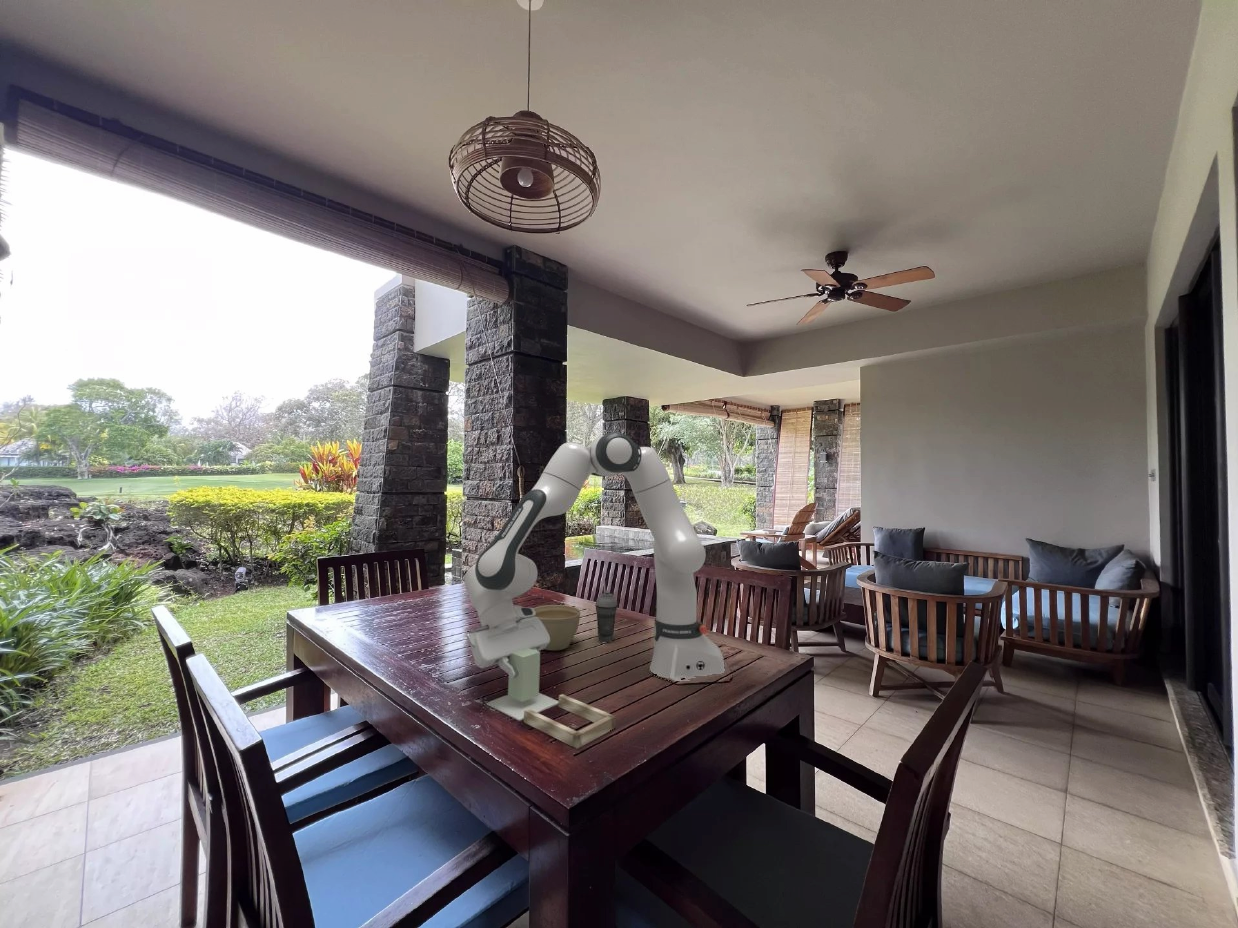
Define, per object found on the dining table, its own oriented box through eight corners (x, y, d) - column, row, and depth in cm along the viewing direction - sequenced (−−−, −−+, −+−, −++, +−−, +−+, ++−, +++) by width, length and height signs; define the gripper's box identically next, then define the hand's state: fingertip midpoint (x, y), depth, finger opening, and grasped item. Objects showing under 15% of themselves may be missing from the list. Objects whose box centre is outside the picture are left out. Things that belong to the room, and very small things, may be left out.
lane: (523, 721, 110) (524, 710, 110) (562, 704, 119) (562, 694, 119) (577, 748, 100) (577, 735, 100) (615, 727, 108) (615, 716, 108)
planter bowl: (518, 644, 161) (519, 609, 161) (560, 635, 172) (560, 602, 172) (547, 658, 149) (548, 621, 149) (590, 647, 160) (591, 612, 160)
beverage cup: (608, 646, 161) (610, 582, 162) (589, 641, 165) (591, 579, 166) (620, 640, 167) (622, 579, 168) (602, 636, 171) (603, 576, 172)
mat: (486, 704, 118) (486, 702, 118) (526, 688, 127) (526, 687, 127) (519, 720, 110) (519, 719, 110) (560, 703, 120) (560, 701, 120)
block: (508, 695, 119) (509, 652, 119) (524, 689, 122) (526, 646, 123) (521, 701, 115) (523, 657, 116) (538, 695, 119) (540, 651, 120)
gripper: (470, 622, 116) (495, 678, 109) (538, 607, 132) (564, 654, 125) (458, 638, 119) (482, 693, 112) (527, 621, 134) (551, 668, 128)
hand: (525, 672), depth 119 cm, fingers closed on block, 5 cm apart
